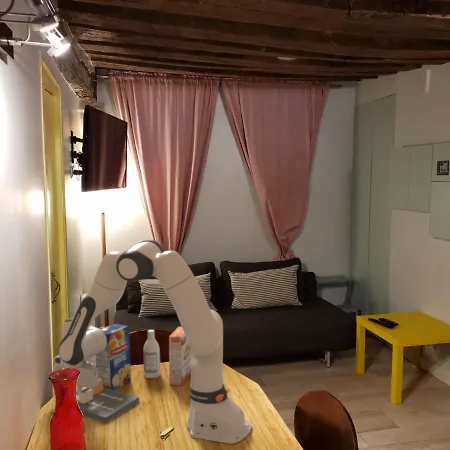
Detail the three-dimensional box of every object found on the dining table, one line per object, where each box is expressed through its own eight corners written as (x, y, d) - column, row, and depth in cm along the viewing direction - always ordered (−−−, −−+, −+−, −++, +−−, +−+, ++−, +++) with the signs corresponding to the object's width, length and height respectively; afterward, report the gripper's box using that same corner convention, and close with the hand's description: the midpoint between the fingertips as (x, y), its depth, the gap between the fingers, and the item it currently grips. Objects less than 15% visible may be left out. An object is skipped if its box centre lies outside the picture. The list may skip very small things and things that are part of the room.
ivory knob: (92, 399, 184) (92, 387, 183) (84, 403, 180) (83, 391, 180) (88, 397, 185) (87, 386, 185) (79, 402, 181) (79, 390, 181)
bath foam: (150, 371, 215) (149, 327, 213) (163, 374, 212) (162, 329, 210) (140, 377, 209) (139, 332, 207) (154, 380, 206) (152, 334, 204)
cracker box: (183, 386, 199) (182, 337, 197) (169, 385, 201) (167, 336, 198) (192, 373, 213) (191, 326, 211) (178, 372, 214) (177, 325, 212)
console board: (139, 402, 186) (139, 396, 186) (105, 423, 171) (105, 417, 170) (96, 389, 197) (96, 385, 197) (61, 408, 182) (61, 403, 181)
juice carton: (117, 377, 209) (115, 323, 206) (130, 381, 205) (129, 326, 202) (97, 388, 198) (95, 331, 196) (111, 392, 195) (108, 334, 192)
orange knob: (103, 390, 191) (102, 378, 191) (95, 394, 187) (94, 383, 187) (98, 388, 192) (98, 377, 192) (90, 393, 189) (90, 381, 188)
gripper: (101, 361, 181) (103, 396, 182) (63, 352, 191) (64, 385, 193) (89, 367, 176) (91, 403, 177) (50, 357, 186) (52, 392, 187)
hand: (77, 394), depth 185 cm, fingers closed
